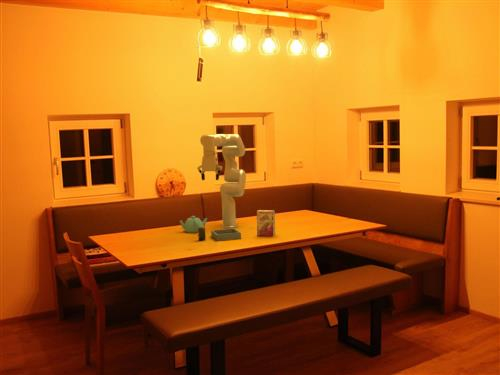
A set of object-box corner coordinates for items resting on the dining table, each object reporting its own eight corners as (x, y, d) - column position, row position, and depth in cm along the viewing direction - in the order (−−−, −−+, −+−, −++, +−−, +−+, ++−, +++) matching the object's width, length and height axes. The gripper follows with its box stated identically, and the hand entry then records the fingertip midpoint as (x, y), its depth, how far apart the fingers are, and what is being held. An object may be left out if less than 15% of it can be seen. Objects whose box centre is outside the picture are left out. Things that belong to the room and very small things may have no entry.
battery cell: (198, 239, 332) (197, 226, 331) (204, 239, 333) (204, 225, 332) (199, 241, 328) (198, 227, 327) (206, 240, 329) (205, 226, 328)
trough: (211, 236, 341) (211, 230, 341) (234, 234, 346) (234, 228, 345) (216, 241, 326) (216, 234, 326) (241, 238, 331) (240, 232, 330)
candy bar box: (257, 235, 338) (256, 211, 336) (259, 234, 343) (258, 209, 341) (273, 236, 334) (272, 211, 333) (275, 234, 339) (274, 210, 337)
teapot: (178, 233, 358) (177, 217, 357) (189, 228, 372) (188, 214, 371) (198, 233, 352) (197, 218, 351) (208, 229, 366) (207, 214, 365)
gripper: (223, 153, 339) (224, 179, 341) (199, 153, 344) (200, 179, 346) (219, 153, 332) (220, 180, 333) (194, 154, 337) (195, 180, 338)
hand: (210, 180), depth 339 cm, fingers open, 9 cm apart
